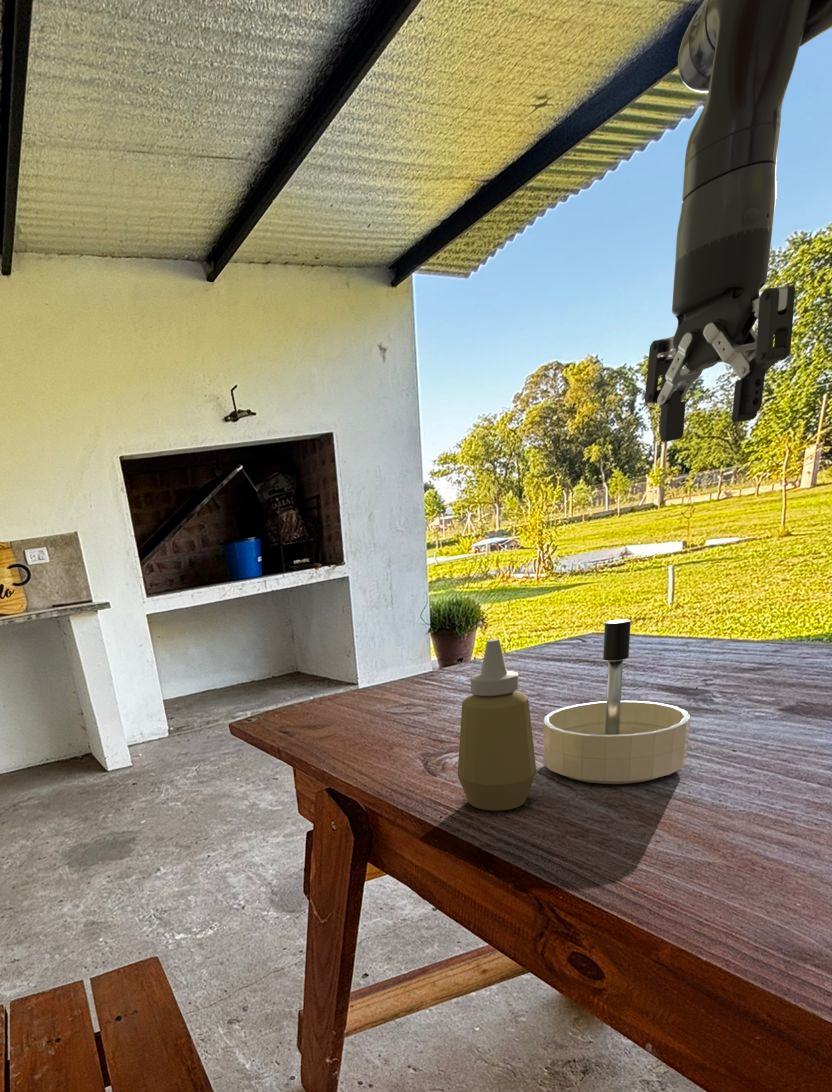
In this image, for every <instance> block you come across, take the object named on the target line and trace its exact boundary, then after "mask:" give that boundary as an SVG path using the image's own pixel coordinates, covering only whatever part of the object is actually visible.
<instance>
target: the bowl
mask: <svg viewBox="0 0 832 1092" xmlns="http://www.w3.org/2000/svg"><path fill="white" fill-rule="evenodd" d="M606 703H607V700H606V701H593V702H587V703H579V704H573V705H570V706H564V707H561V708H558V709H556V710H553V711H551V712H550V713H548V714H547V715H546V716H544V717H543V747H542V748H543V751H542V753H543V754H542V755H543V757H542V759H543V765H544V766H545V767H546V768H547V769H548V770H549V771H551V772H553V773H556V774H559V775H561V776H564V777H567V778H568V779H572V780H576V781H580V782H585V783H592V784H603V785H625V784H626V785H627V784H637V783H642V782H643V783H644V782H648V781H653V780H655V779H659V778H662V777H664V776H665V777H666V776H670V775H672V774H674V773H676V772H677V771H679V770H681V769H683V768H684V766H685V765H686V763H687V759H688V751H689V750H688V749H689V738H690V727H691V718H692V717H691V715H690V714H689V713H688V711H687V710H686V709H683V708H680V707H678V706H675V705H671V704H667V703H661V702H654V701H643V700H621V710H620V729H619V735H605V725H606Z"/></svg>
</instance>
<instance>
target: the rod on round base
mask: <svg viewBox="0 0 832 1092" xmlns="http://www.w3.org/2000/svg"><path fill="white" fill-rule="evenodd" d="M631 623H632V620H631V619H629V618H628V619H627V618H626V619H624V618H622V619H613V620H607V621H605V622H604V631H603V654H602V659H603V660H604V661H607V662H608V663H607V680H606V681H607V682H606V701H607V703H606V725H605V735H619V729H620V710H621V701H622V690H623V688H622V687H623V673H624V671H623V670H624V660H626V659H629V657H630V640H631Z"/></svg>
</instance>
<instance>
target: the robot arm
mask: <svg viewBox="0 0 832 1092" xmlns="http://www.w3.org/2000/svg"><path fill="white" fill-rule="evenodd" d="M830 29H832V0H703V1H702V3H701V4H700V5H699V6H698V9H697V10H696V12H695V13H694V15H693V17H692V18H691V19H690V22H689V24H688V26H687V27H686V30H685V32H684V34H683V37H682V40H681V43H680V46H679V50H678V54H677V55H678V56H677V69H678V75H679V77H680V80H681V82H682V83H683V84H684V86H686V87H687V88H688V89H690V90H691V91H694V92H697V93H700V94H701V93H703V94H704V93H705V94H706V95H707V96H706V99H705V102H704V106H703V107H702V111H701V113H700V115H699V117H698V119H697V121H696V122H695V124H694V126H693V128H692V130H691V132H690V134H689V137H688V140H687V143H686V144H687V145H686V150H685V157H684V167H683V168H684V169H683V179H682V197H681V209H680V214H679V220H678V225H677V226H678V227H677V232H676V240H675V254H674V255H675V256H674V268H673V269H674V270H673V283H672V296H671V297H672V299H671V300H672V301H671V314H672V315H673V316H675V318H676V319H677V326H676V330H675V333H674V334H673V336H670V337H666V338H661V339H656V340H653V341H652V342H651V343H650V345H649V350H648V351H649V352H648V361H647V370H646V381H645V392H644V402H645V403H646V404H651V403H653V404H657V405H659V406H660V417H659V418H660V419H659V430H658V431H659V437H660V441H661V442H662V443H668V442H669V443H670V442H673V441H677V440H681V439H682V438H683V437H684V429H685V415H686V402H687V401H686V400H684V399H685V398H686V395H687V393H688V392H689V390H690V388H691V386H692V384H693V383H694V382H695V381H697V379H698V378H700V377H701V375H702V373H703V372H704V370H706V369H709V368H712V367H714V366H716V365H717V364H718V363H724V364H726V365H729V366H730V367H731V369H732V371H734V373H735V375H736V376H737V377H738V378H739V380H735V382H734V383H735V384H734V392H733V401H732V402H733V403H732V411H731V422H732V423H733V424H737V423H744V422H748V421H752V420H755V419H756V417H757V415H758V412H760V410H761V407H762V405H763V397H764V396H763V395H764V394H763V393H764V386H765V379H766V375H767V373H768V372H769V370H770V368H771V367H772V366H774V365H776V364H777V363H778V362H780V361H784V360H786V359H787V358H788V357H789V355H790V354H791V349H792V337H793V324H794V311H795V298H796V297H795V296H796V287H795V285H793V284H789V285H782V286H776V287H770V288H769V287H767V288H766V289H764V290H763V291H762V293H761V294H760V290H761V289H763V287H764V286H765V285H766V283H767V280H768V275H769V274H768V273H769V264H770V255H771V246H772V235H773V227H774V220H775V211H776V202H777V201H776V199H777V180H776V179H777V176H776V175H777V174H776V173H777V161H778V151H779V143H780V142H779V141H780V133H781V122H782V120H781V119H782V107H783V102H784V99H785V96H786V92H787V89H788V86H789V83H790V80H791V77H792V74H793V71H794V69H795V64H796V61H797V57H798V54H799V50H800V48H801V47H802V46H804V45H805V44H807V43H808V42H810V41H811V40H813V39H814V38H816V37H818V36H820V35H821V34H824V33H825V32H826V31H829V30H830ZM756 322H757V332H755V330H754V329H753V327H754V325H755V324H756ZM684 367H685V368H684ZM660 378H661V380H659V379H660ZM659 381H660V382H661V383H660V388H659ZM683 400H684V401H683Z"/></svg>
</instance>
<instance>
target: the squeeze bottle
mask: <svg viewBox="0 0 832 1092" xmlns="http://www.w3.org/2000/svg"><path fill="white" fill-rule="evenodd" d="M459 731H460V732H459V747H458V759H457V760H458V762H457V778H458V780H459V782H460V785H461V787H462V790H463V792H464V794H465V796H466V799H467V802H468V803H469V804H470V805H471V806H472V807H474V808H477V809H480V810H485V811H492V812H493V811H506V810H507V811H508V810H514V809H516V808H518V807H521V806H523V804H525V802H526V800H527V798H528V795H529V793H530V790H531V787H532V785H533V783H534V780H535V778H536V776H537V764H536V755H535V746H534V736H533V729H532V720H531V711H530V702H529V697H528V695H527V694H525V693H524V692H522V691H519V673H518V672H517V671H513V670H508V668H507V664H506V660H505V655H504V652H503V649H502V644H501V640H500V638H492V639H487V640H486V645H485V649H484V654H483V659H482V665H481V669H480V673H477V674H474V675H472V676H470V695H468V696H467V697H466V698H464V700H462V702H461V715H460V729H459Z"/></svg>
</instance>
